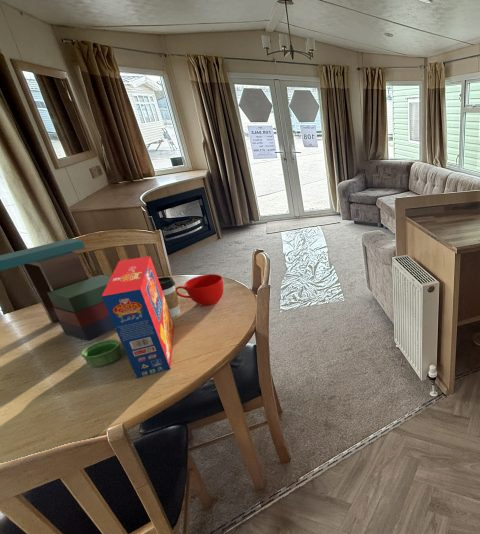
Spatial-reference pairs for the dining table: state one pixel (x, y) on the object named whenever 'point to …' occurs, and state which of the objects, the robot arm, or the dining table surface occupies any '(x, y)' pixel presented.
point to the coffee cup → (170, 295)
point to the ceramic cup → (204, 289)
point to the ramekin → (102, 352)
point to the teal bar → (39, 253)
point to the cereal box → (140, 315)
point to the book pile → (83, 308)
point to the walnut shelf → (54, 277)
